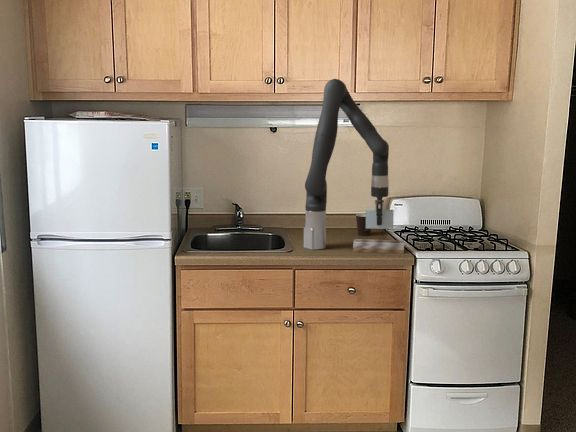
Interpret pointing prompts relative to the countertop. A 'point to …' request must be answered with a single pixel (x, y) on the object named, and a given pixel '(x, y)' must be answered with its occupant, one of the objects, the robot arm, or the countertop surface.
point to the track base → (378, 246)
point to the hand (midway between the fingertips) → (379, 224)
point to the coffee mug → (362, 225)
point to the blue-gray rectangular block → (386, 219)
